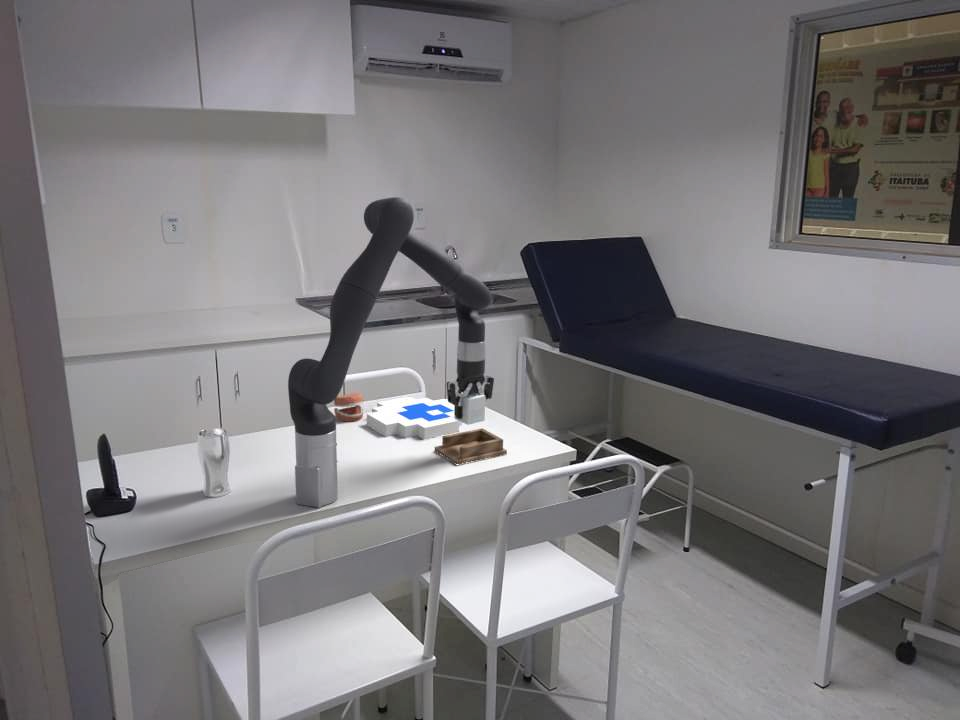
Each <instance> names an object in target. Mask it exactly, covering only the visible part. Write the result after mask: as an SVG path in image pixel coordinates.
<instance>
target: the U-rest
mask: <svg viewBox="0 0 960 720" xmlns="http://www.w3.org/2000/svg"><path fill="white" fill-rule="evenodd" d="M441 437H442V440H441V441H442V442H441V443H442V445H436V446H434V452H436V453H437V452H438V454H439V455H440V454H441V455H440V456H442V455H443V456H444V457H443V456H442V457H443V458H445V457H446V458H448V459H449V460H451V461H453V462H454V463H456V464H462V463H466V462H471V461H475V462H477V461H476V460H480V459H484V460H486V459H485V458H489V457H493V458H496V457H495V456H497V457H501V456H500V455H502V456H505V455H504V454H506V455H508V451H507V449H505V448H504V439H503V438H501V437H500V436H497V435H495V434H494V433H492V432H491V431H488V430H486V429H485V428H477V429H473V430H472V429H471V430H468V431H462V432H457V433H453V434H448V435H444V436H441ZM446 458H445V459H446ZM448 459H447V460H448ZM489 459H490V458H489ZM449 460H448V461H449ZM451 461H450V462H451ZM480 461H481V460H480ZM454 463H453V464H454ZM471 463H472V462H471ZM456 464H455V465H456ZM462 465H463V464H462Z"/></svg>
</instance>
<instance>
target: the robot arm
mask: <svg viewBox="0 0 960 720" xmlns="http://www.w3.org/2000/svg"><path fill="white" fill-rule="evenodd" d="M363 212H364V214H363V221H364V225H365V227H366V228H367V230H368V231H369V233H371V234H372V235H371V237H370V240H369V242H368V243H367V246H366V247H365V248H364V250H363V251H362V253H360V255H359V256H358V257H357V258H356V259H355V261H354V262H352V264H351V265H350V266H349V267H348V269H346V271H345V272H344V273H343V276H341V279H340V280H339V283H338V284H337V287H336V290H335V292H334V294H333V296H332V298H331V301H330V306H329V322H330V325H329V327H330V329H329V330H330V335H329V340H328V343H327V346H326V348H325V351H324V353H323V355H322V357H321V359H320V360H317V359H313V358H302V359H299V360H298V361H296V362H295V363H294V364H293V366H291V369H290V372H289V375H288V381H287V387H288V388H287V389H288V401H289V412H290V416H291V420H292V421H293V424H294V435H295V436H294V439H295V440H294V441H295V442H294V443H295V465H294V477H295V478H294V481H295V500H296V501H295V502H296V505H300V506H301V505H303V506H308V507H312V508H313V507H315V508H319V509H320V508H321V507H323V506H326V505H327V506H328V505H330V504H332V503H334V502H336V501H337V499H338V497H339V495H338V494H339V493H338V490H339V489H338V462H337V461H338V460H337V459H338V456H337V455H338V454H337V453H338V452H337V446H336V443H337V419H336V418H337V417H336V415H335V414H334V413H333V412H332V411H331V409H329V408H328V406H327V405H328V404H331V403H332V402H334V399H335V398H336V397H337V396H339V394H340V392H341V391H342V388H343V385H344V382H345V381H346V377H347V375H348V371H349V367H350V364H351V362H352V359H353V356H354V352H355V350H356V347H357V345H358V342H359V340H360V337H361V335H362V332H363V330H364V327H365V326H366V323H367V321H368V319H369V317H370V315H371V313H372V311H373V308H374V306H375V304H376V301H377V299H378V297H379V293H380V291H381V289H382V288H383V284H384V282H385V280H386V277H387V275H388V273H389V272H390V269H391V266H392V264H393V263H394V260H395V258H396V256H397V254H398V253H401V254H402V255H404V256H405V257H407V258H408V259H409V260H410V261H412V262H413V263H415V264H416V265H417V266H418V267H419V268H421V269H422V270H423V271H424V272H425V273H426V274H428V275H429V276H430V277H431V278H432V279H433V280H434V281H435V282H436V283H438V284H439V285H440V287H442V288H444V289H445V290H447V291H449V292H452V293H453V294H454V296H453V297H454V298H453V299H454V302H453V303H454V308H455V313H456V318H457V322H458V340H457V341H458V343H457V347H456V375H457V376H456V377H457V378H456V380H455V381H452V382H450V381H447V382H446V383H445V384H446V385H445V386H446V393H447V394H446V395H447V401H448V402H449V403H451V404H453V405H454V415H455V416H456V418H458V419H462V406H461V405H462V403H463V400H464V398H466V397H467V395H469V394H472V393H477V394H479V395H485V402H487V400H491V399H492V398H493V397H492V396H493V390H494V384H495V383H494V382H495V378H494V377H491V376H490V375H484V374H485V373H486V337H485V336H486V323H485V321H484V319H483V318H481V316H480V315H479V312H481V311H483V310H486V309H487V308H488V307H489V306H490V304H491V301H492V295H491V291H490V289H489V288H488V286H487V285H486V284H485V283H484V282H482V281H481V280H480V279H478V278H477V277H475V276H474V275H473V274H471V273H470V272H468V271H466V270H465V269H464V268H463V267H462V266H461V265H460V264H459V263H458V262H457V261H456V260H455V259H454V258H452V256H450V254H449V253H447V252H445V250H443V249H441V248H439V247H438V246H436V245H434V244H433V243H431V242H429V241H428V240H426V239H424V238H422V237H421V236H420V235H418V234H417V233H415V232H414V231H412V230H411V229H412V227H413V224H414V217H415V215H414V209H413V207H412V204H411V203H410V202H409V201H408V200H407V199H405V198H403V197H399V196H397V197H388V198H387V197H386V198H381V199H377V200H374V201H371V202H370V203H369V204H368V205H367V206H366V207H365V210H364V211H363ZM483 384H484V387H483ZM457 387H458V388H457ZM462 392H463V394H461V393H462ZM459 396H460V399H459Z"/></svg>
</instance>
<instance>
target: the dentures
mask: <svg viewBox="0 0 960 720" xmlns="http://www.w3.org/2000/svg"><path fill="white" fill-rule="evenodd" d="M363 404H364V397H363V394H362V393H359V392H353V393H349V394H343V395H338V396H337V397H336V398H335V399H334V400H333V405H334V407H337V408H334V416H335V418H338V420H341V421H343V422H356V420H357V421H360V420H362V419H363V417H364V408H363V406H362V405H363ZM338 408H340V409H338ZM361 418H362V419H361Z"/></svg>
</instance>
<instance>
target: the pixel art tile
mask: <svg viewBox="0 0 960 720" xmlns="http://www.w3.org/2000/svg"><path fill="white" fill-rule="evenodd" d="M376 403H377V404H376V406H375V407H372V408H371V412H368V413H366V426H368V427H369V426H370V427H369V428H371V429H373V430H374V431H376V432H378V433H380V434H381V435H383V436H384V435H385V437H386V438H388V437H392V435H393V436H396V434H397V435H399V436H400V437H402V436H403V437H402V438H404V437H405V438H404V439H408V438H412V437H413V436H414V437H419V438H421V439H422V438H423V440H424V439H426V440H429V439H430V438H431V439H434V438H433V437H435V438H438V437H437V436H439V437H442V436H441V435H444V436H446V434H448V435H451V434H450V433H453V434H456V433H455V432H457V433H459V432H460V427H461V426H460V425H462V426H463V423H462V422H460V421H458V420H455V415H454V405H453V404H451V403H449V402H448V399H445V398H441V399H437V400H436V399H435V400H432V399H430V398H428V397H423V398H417V399H416V398H414V397H412V396H404V397H398V398H393V399H388V400H382V401H378V402H376ZM458 431H459V432H458ZM417 435H418V436H417ZM431 439H430V440H431Z"/></svg>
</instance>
